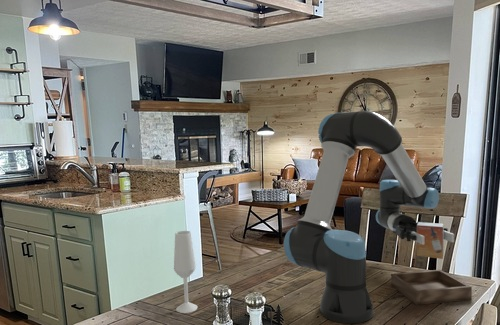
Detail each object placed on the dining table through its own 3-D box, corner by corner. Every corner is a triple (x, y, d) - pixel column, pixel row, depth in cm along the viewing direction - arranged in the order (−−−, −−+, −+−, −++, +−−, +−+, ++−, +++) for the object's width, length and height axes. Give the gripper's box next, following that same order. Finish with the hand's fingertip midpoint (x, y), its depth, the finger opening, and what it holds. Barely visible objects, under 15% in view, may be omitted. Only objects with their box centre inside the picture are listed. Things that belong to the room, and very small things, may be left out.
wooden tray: (416, 305, 120) (416, 292, 120) (391, 285, 136) (391, 273, 135) (471, 299, 122) (471, 286, 122) (440, 280, 138) (440, 269, 138)
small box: (416, 256, 131) (416, 224, 130) (417, 251, 136) (417, 221, 135) (443, 259, 127) (443, 226, 126) (443, 254, 132) (443, 223, 131)
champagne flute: (182, 302, 128) (178, 229, 127) (201, 304, 126) (197, 230, 125) (172, 311, 122) (167, 235, 120) (191, 314, 120) (187, 235, 118)
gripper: (429, 232, 150) (470, 248, 128) (374, 236, 148) (405, 253, 125) (429, 212, 150) (470, 225, 128) (374, 216, 147) (405, 230, 125)
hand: (438, 239), depth 127 cm, fingers closed on small box, 9 cm apart
